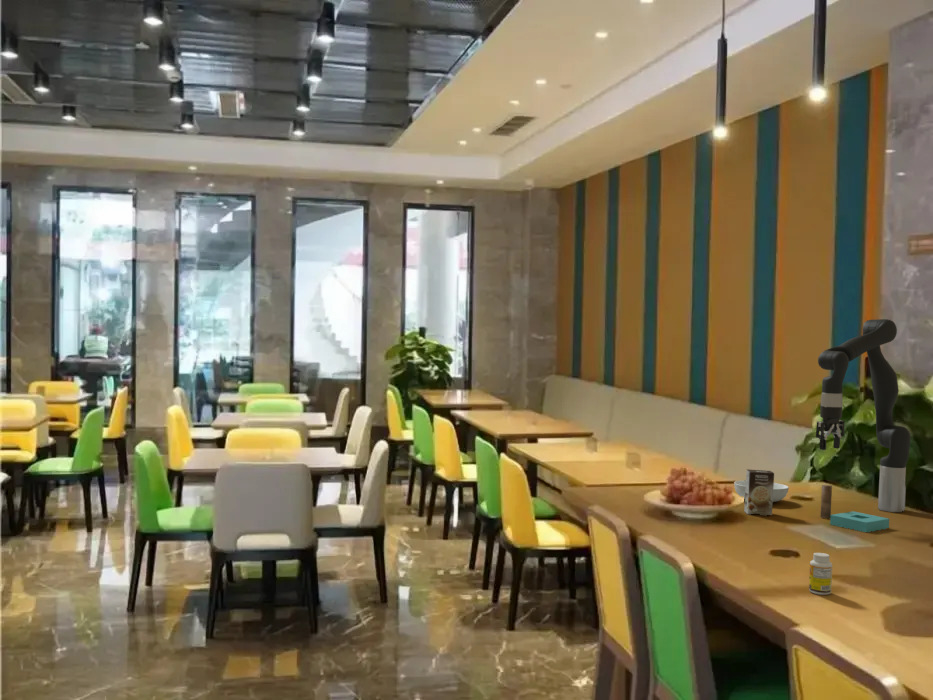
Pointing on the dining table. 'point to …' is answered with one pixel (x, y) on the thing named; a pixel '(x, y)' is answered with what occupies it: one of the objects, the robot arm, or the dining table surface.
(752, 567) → the dining table surface
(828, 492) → the peg
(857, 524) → the hole block
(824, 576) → the supplement bottle
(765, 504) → the coffee box
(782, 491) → the serving bowl
